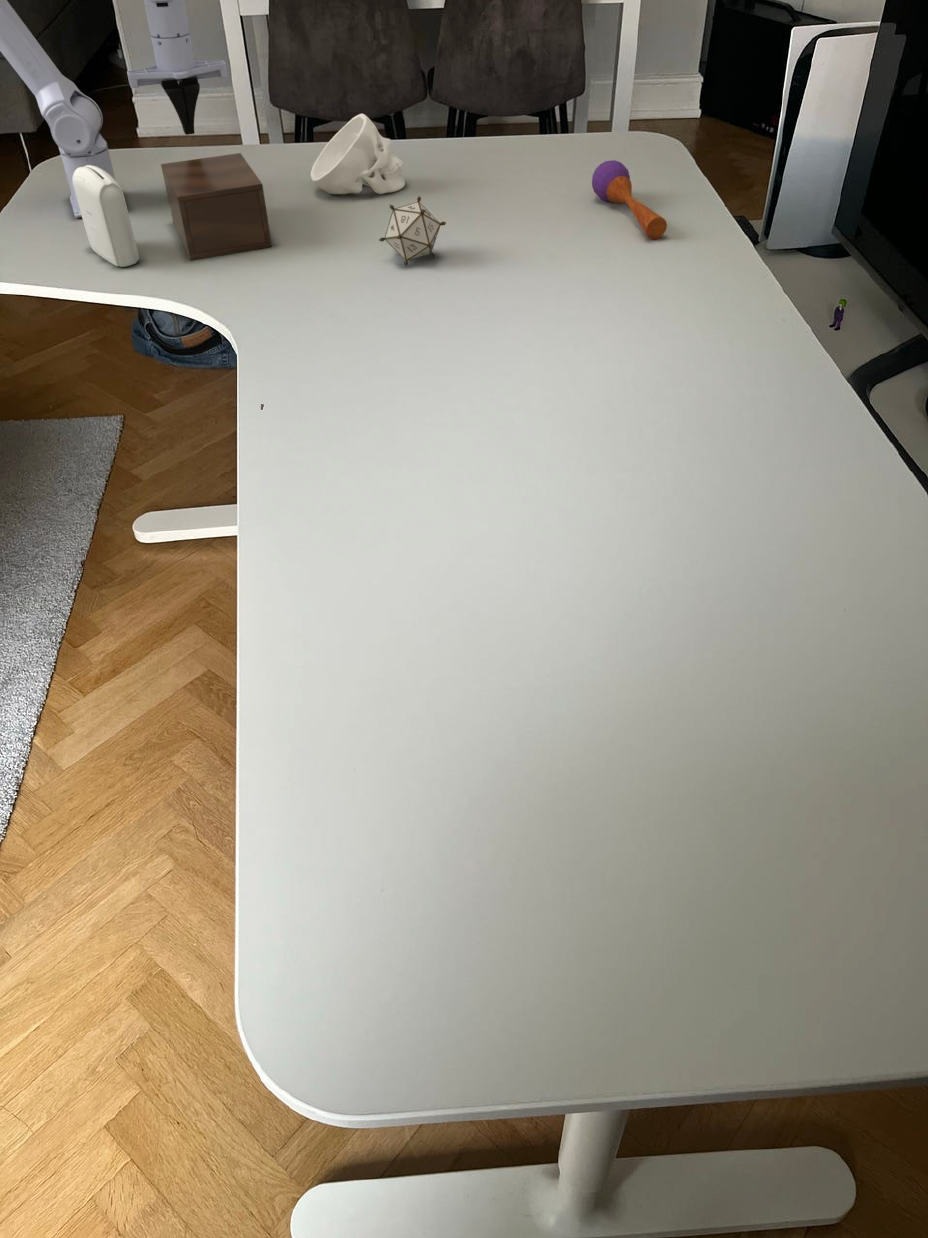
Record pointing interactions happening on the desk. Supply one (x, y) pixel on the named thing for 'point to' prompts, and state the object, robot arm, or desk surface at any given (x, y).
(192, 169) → the cabinet
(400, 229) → the game die
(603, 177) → the purple and orange maraca
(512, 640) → the desk surface
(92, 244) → the photo printer
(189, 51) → the robot arm
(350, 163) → the skull bowl
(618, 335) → the desk surface
